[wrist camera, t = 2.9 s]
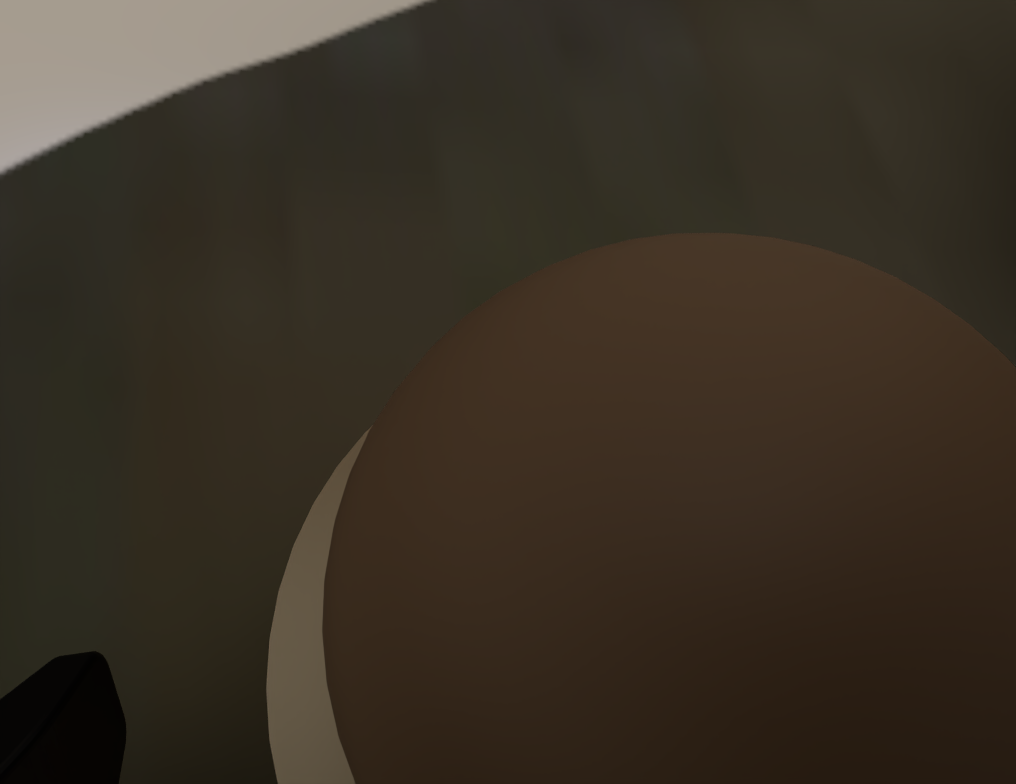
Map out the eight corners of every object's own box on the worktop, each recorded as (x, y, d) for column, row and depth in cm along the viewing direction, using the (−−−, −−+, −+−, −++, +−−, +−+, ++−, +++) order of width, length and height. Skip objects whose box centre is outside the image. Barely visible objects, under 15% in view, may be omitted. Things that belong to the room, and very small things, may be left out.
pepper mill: (631, 920, 15) (1946, 2126, 1) (370, 833, 15) (-403, 1176, 2) (688, 648, 16) (1538, 94, 3) (453, 576, 17) (349, -180, 4)
